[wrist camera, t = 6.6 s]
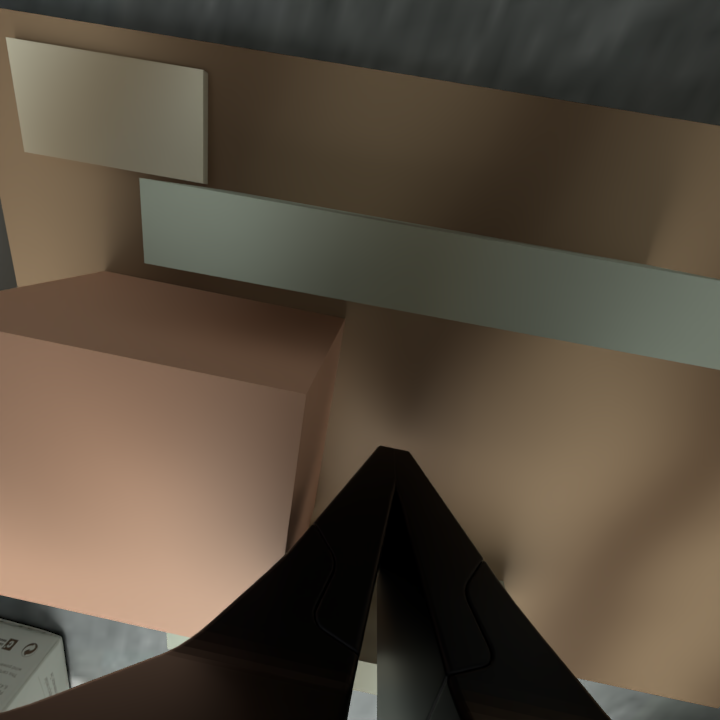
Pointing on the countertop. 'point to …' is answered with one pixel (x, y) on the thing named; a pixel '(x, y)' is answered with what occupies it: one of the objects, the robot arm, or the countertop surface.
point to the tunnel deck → (427, 297)
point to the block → (155, 444)
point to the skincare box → (29, 665)
